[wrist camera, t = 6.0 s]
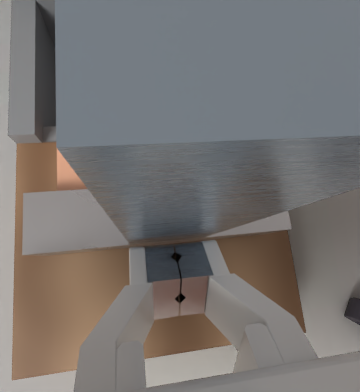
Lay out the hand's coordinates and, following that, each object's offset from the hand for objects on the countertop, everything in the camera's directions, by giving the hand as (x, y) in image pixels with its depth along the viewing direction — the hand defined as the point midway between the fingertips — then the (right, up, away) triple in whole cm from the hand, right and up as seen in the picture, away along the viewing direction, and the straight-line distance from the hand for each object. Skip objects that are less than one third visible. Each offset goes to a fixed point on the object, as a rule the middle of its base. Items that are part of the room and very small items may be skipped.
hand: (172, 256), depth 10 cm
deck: (-1, -1, +7) cm, 7 cm away
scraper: (-1, +1, +4) cm, 5 cm away
